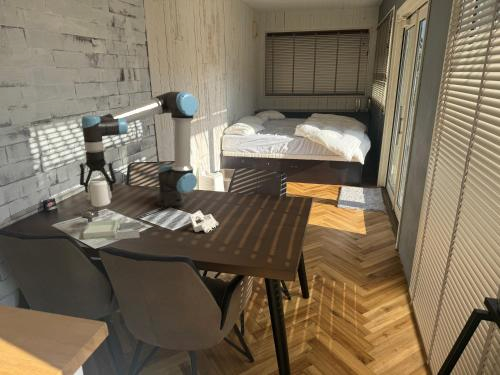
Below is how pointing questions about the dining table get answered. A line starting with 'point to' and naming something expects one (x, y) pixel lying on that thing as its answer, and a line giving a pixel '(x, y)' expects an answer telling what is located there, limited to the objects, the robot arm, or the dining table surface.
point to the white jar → (99, 192)
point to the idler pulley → (89, 214)
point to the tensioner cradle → (132, 233)
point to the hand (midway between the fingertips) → (100, 198)
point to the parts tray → (101, 229)
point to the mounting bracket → (203, 222)
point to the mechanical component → (92, 205)
